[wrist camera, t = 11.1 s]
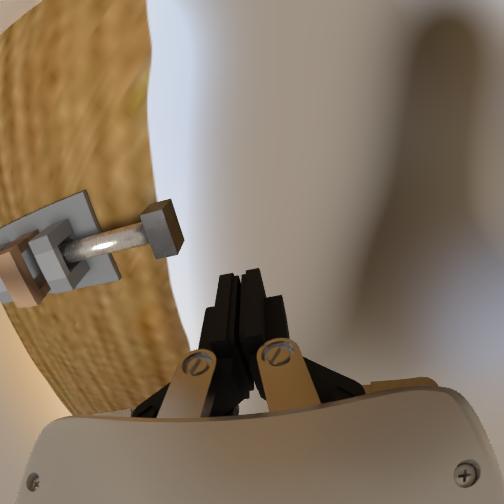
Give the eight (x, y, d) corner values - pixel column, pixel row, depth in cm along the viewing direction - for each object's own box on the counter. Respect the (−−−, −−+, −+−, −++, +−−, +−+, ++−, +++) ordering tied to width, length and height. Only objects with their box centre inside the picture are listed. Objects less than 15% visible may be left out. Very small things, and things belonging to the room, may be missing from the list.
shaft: (184, 239, 26) (177, 254, 24) (62, 268, 27) (50, 282, 25) (170, 198, 24) (162, 209, 22) (47, 236, 26) (33, 248, 23)
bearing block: (121, 277, 29) (104, 303, 25) (16, 297, 31) (-1, 317, 27) (85, 190, 25) (60, 206, 21) (-15, 235, 27) (-36, 252, 22)
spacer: (60, 278, 29) (37, 305, 24) (40, 282, 29) (17, 308, 24) (37, 228, 26) (9, 251, 21) (18, 236, 26) (-9, 258, 21)
